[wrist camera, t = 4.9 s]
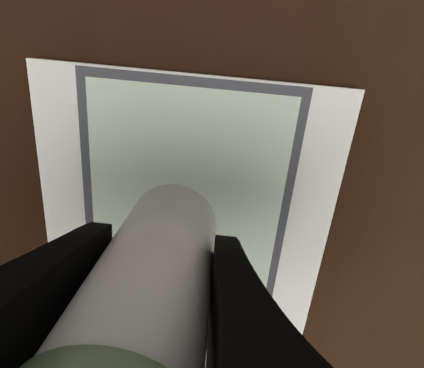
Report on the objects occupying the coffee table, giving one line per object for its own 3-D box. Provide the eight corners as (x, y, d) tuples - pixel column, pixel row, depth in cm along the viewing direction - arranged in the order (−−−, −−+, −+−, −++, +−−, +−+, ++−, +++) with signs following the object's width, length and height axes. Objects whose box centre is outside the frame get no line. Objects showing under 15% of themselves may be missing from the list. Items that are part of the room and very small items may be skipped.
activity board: (69, 357, 20) (47, 397, 18) (36, 58, 14) (-5, 57, 11) (285, 380, 20) (293, 424, 18) (357, 88, 13) (385, 94, 11)
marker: (129, 257, 12) (-48, 601, 4) (128, 176, 10) (-119, 456, 3) (214, 266, 12) (187, 630, 4) (223, 186, 10) (208, 495, 3)
